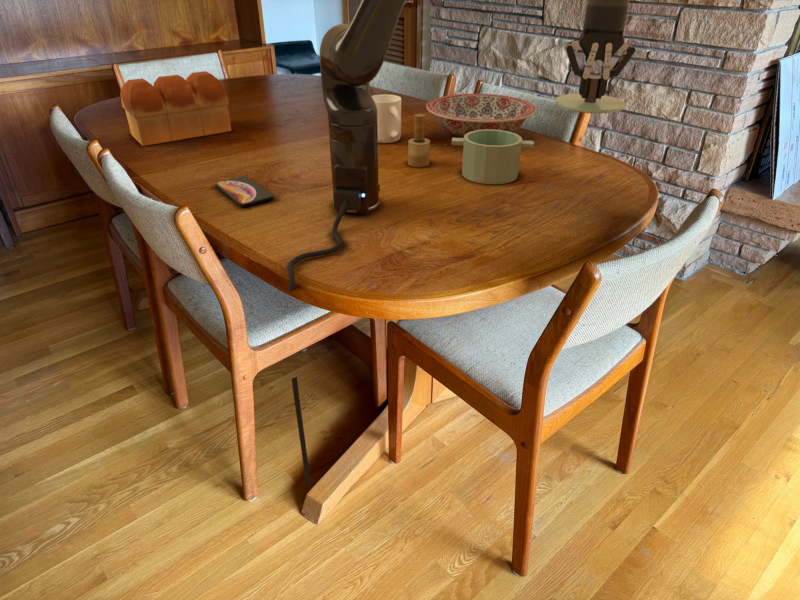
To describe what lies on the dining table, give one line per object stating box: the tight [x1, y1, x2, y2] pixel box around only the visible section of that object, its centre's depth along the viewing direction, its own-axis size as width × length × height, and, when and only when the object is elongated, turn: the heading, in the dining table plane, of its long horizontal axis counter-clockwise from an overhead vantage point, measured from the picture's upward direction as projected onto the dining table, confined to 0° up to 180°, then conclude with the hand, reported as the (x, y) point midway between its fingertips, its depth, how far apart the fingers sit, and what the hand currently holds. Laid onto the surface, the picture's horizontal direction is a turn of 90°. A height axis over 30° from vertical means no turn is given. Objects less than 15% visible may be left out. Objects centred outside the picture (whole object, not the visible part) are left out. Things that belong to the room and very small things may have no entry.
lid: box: [554, 75, 626, 115], centre depth 116 cm, size 14×14×6 cm
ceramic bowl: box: [426, 93, 537, 138], centre depth 155 cm, size 29×29×8 cm
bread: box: [119, 71, 232, 147], centre depth 154 cm, size 25×12×15 cm, turn 125°
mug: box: [372, 94, 402, 144], centre depth 150 cm, size 9×12×11 cm
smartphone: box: [215, 175, 274, 208], centre depth 121 cm, size 8×1×15 cm
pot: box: [451, 129, 535, 185], centre depth 129 cm, size 13×18×8 cm
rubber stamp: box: [407, 113, 431, 168], centre depth 134 cm, size 5×5×12 cm
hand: (591, 97), depth 116 cm, fingers closed on lid, 2 cm apart
